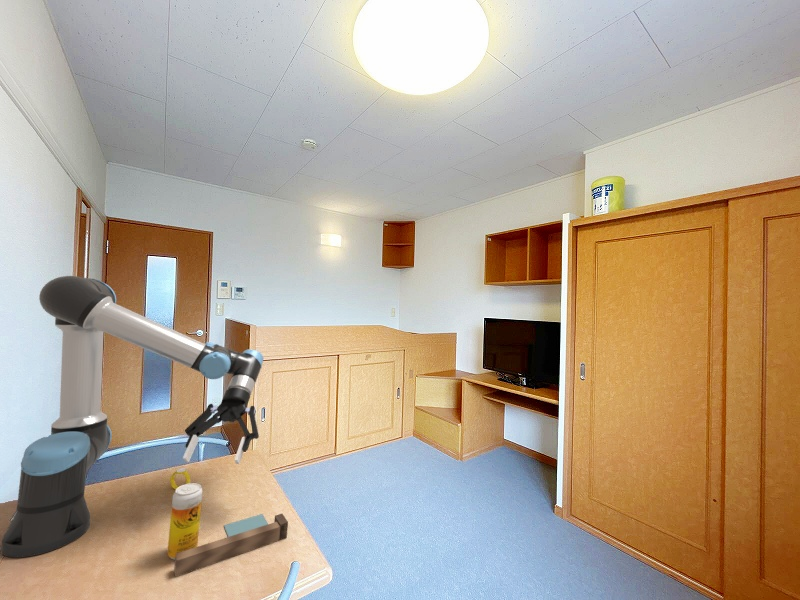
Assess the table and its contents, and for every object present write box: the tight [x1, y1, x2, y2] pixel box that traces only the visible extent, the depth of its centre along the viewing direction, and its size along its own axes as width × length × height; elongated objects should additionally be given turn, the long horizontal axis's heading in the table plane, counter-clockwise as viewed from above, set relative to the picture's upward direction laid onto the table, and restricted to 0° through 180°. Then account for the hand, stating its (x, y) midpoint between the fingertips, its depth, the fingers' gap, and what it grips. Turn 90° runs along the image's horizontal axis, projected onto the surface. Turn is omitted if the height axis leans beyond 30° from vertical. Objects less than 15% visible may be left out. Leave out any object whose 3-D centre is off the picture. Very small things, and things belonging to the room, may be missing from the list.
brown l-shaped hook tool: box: [173, 513, 289, 578], centre depth 82 cm, size 24×4×4 cm, turn 128°
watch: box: [169, 467, 191, 490], centre depth 108 cm, size 6×3×6 cm, turn 83°
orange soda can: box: [166, 482, 203, 561], centre depth 81 cm, size 6×6×15 cm
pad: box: [223, 513, 269, 537], centre depth 90 cm, size 10×9×1 cm
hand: (211, 461), depth 92 cm, fingers open, 13 cm apart
